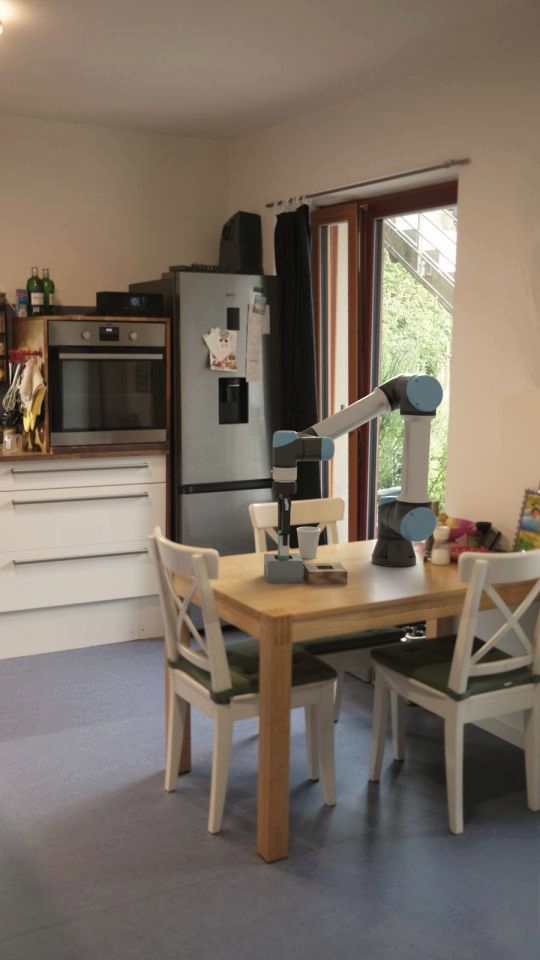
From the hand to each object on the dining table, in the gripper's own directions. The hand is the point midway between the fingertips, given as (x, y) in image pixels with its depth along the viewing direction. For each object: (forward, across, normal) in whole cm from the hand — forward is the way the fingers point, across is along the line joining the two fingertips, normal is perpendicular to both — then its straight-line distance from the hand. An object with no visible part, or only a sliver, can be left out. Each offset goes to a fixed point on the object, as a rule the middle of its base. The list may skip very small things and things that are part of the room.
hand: (283, 553), depth 308 cm
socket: (+8, 0, 0) cm, 8 cm away
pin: (+7, 0, 0) cm, 7 cm away
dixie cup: (+8, -32, +13) cm, 35 cm away
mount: (+8, +2, +13) cm, 15 cm away
